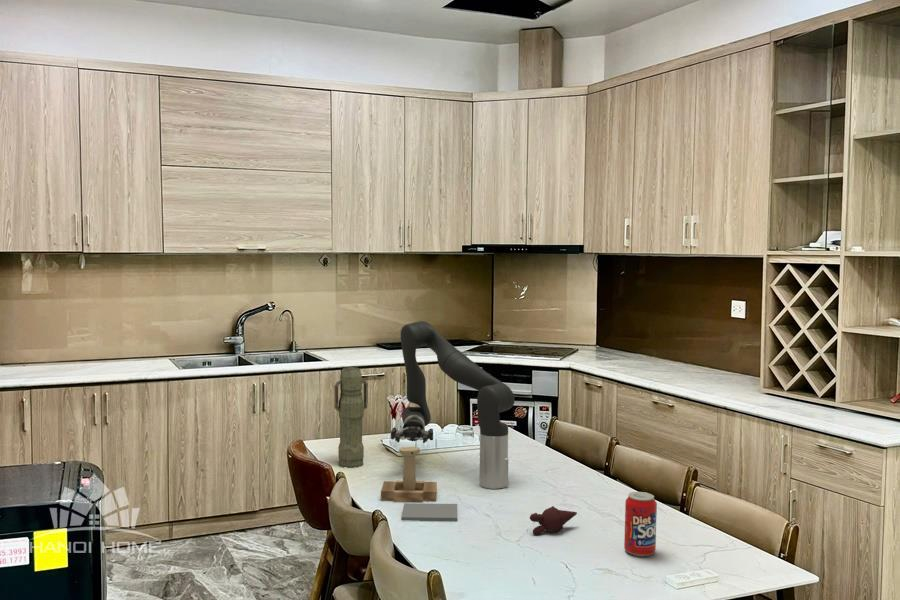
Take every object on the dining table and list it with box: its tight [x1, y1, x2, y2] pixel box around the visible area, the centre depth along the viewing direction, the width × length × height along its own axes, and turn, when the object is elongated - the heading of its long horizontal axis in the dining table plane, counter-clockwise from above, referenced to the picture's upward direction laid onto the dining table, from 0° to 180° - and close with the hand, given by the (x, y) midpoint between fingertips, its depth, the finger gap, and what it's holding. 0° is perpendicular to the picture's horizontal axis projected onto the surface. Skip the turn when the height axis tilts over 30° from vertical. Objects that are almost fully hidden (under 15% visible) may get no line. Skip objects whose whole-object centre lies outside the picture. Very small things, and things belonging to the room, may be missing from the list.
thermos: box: [333, 366, 369, 469], centre depth 275 cm, size 9×12×35 cm
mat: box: [400, 502, 458, 522], centre depth 226 cm, size 16×12×1 cm
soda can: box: [623, 491, 658, 557], centre depth 198 cm, size 8×8×15 cm
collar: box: [380, 480, 438, 503], centre depth 242 cm, size 17×12×3 cm
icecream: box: [529, 505, 578, 536], centre depth 213 cm, size 7×7×15 cm
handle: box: [398, 446, 421, 491], centre depth 241 cm, size 5×6×15 cm
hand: (411, 439), depth 253 cm, fingers open, 8 cm apart
